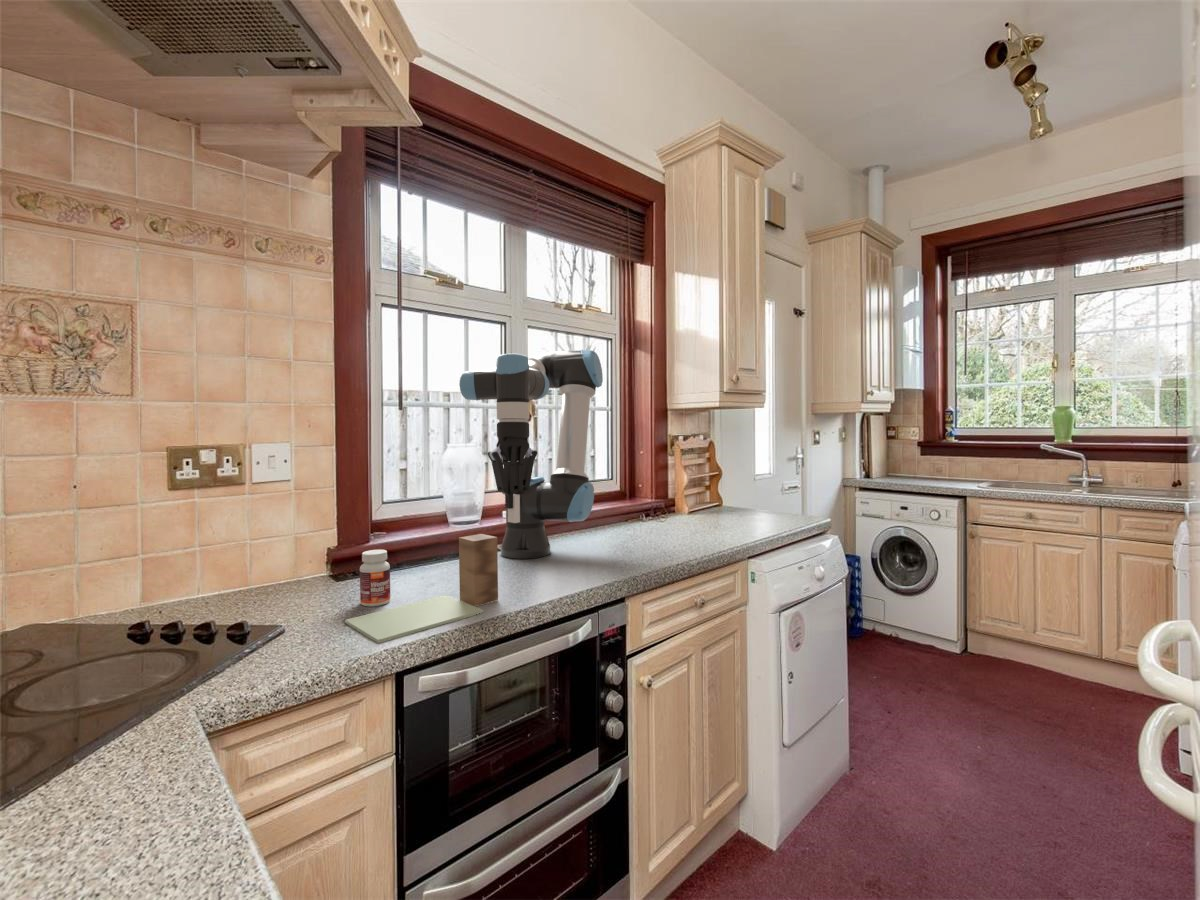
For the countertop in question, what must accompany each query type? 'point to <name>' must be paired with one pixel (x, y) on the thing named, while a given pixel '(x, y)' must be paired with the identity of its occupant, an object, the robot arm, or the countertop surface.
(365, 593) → the pill bottle
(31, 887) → the countertop surface
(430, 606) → the board
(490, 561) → the walnut block
